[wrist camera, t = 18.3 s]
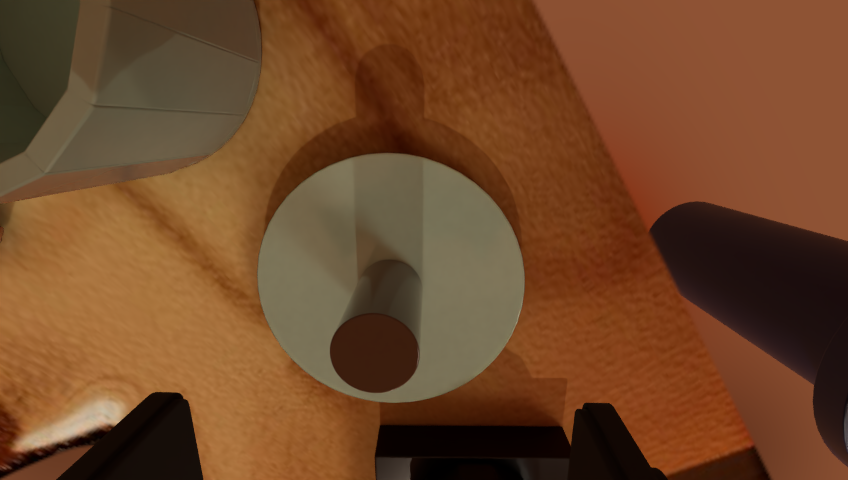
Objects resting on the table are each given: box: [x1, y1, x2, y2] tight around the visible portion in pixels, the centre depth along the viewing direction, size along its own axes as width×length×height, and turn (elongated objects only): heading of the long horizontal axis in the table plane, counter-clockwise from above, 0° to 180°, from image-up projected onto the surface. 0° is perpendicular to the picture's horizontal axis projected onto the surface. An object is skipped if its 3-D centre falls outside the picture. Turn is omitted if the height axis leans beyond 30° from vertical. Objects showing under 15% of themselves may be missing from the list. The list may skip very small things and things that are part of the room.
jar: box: [0, 0, 262, 204], centre depth 13 cm, size 11×11×8 cm
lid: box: [257, 152, 525, 403], centre depth 16 cm, size 12×12×7 cm
